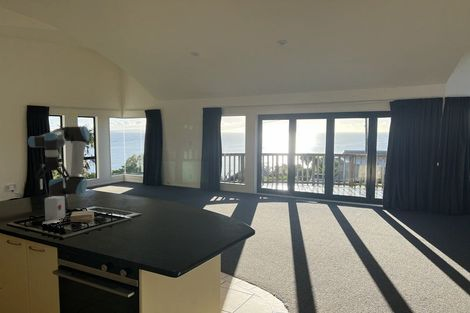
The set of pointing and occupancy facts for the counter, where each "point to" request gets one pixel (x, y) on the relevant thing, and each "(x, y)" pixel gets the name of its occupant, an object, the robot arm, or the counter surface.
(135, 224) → the counter surface
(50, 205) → the supplement box
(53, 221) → the cream smooth round part
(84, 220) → the maple block
